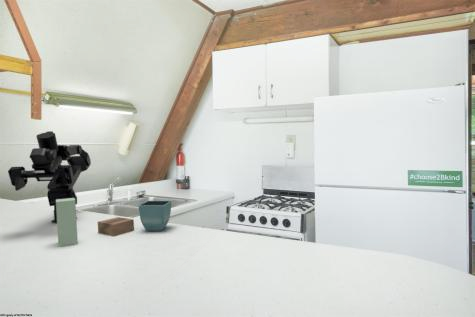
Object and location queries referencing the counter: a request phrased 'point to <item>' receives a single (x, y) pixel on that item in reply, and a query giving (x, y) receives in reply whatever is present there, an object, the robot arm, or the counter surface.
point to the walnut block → (115, 226)
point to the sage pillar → (66, 222)
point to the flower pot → (155, 214)
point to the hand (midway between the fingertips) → (32, 188)
